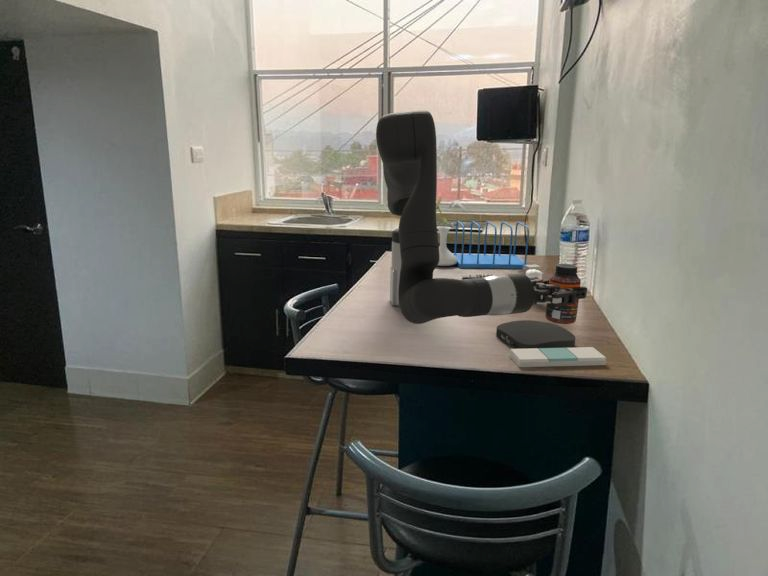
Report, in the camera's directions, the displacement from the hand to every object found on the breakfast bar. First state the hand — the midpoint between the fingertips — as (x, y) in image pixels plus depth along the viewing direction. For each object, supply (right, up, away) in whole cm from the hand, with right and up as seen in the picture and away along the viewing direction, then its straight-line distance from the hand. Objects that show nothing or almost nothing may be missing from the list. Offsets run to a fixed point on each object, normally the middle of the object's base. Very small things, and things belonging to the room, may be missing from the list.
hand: (573, 288), depth 109 cm
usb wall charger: (+10, +3, +74) cm, 75 cm away
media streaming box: (-4, -12, +15) cm, 20 cm away
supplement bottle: (-2, -7, +1) cm, 7 cm away
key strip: (-2, -15, +3) cm, 15 cm away
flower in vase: (-17, +8, +91) cm, 93 cm away
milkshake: (+5, -4, +46) cm, 46 cm away
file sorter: (+1, +9, +95) cm, 95 cm away
